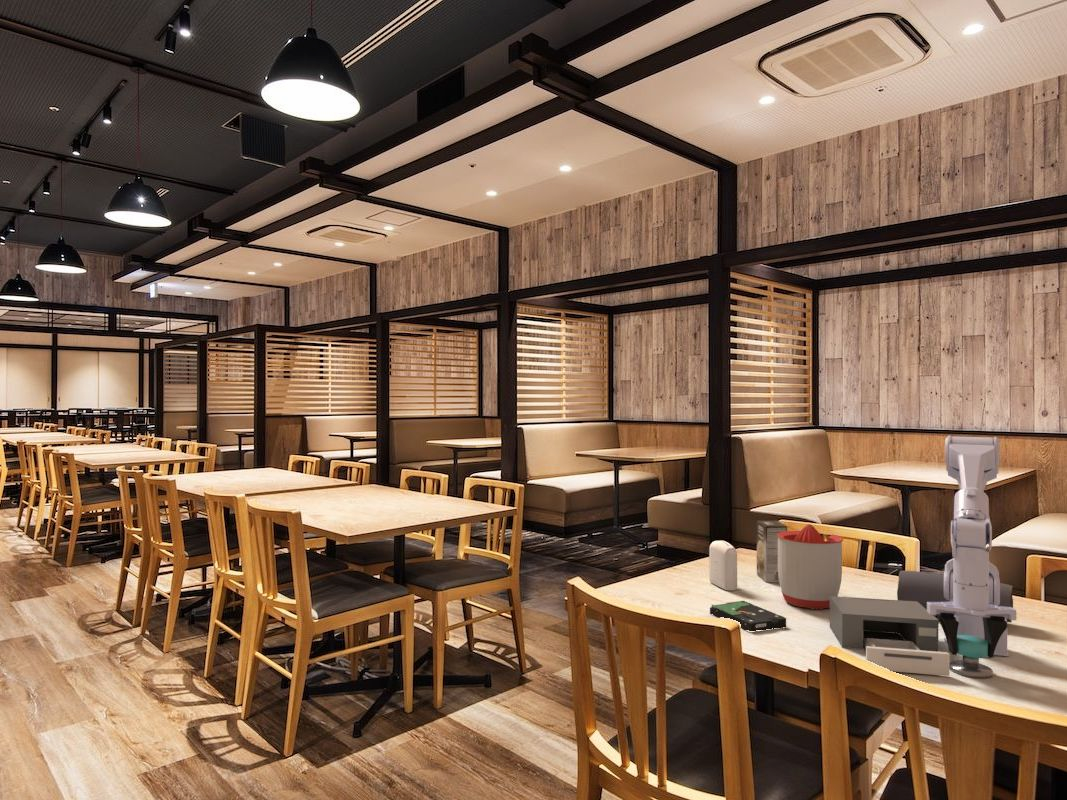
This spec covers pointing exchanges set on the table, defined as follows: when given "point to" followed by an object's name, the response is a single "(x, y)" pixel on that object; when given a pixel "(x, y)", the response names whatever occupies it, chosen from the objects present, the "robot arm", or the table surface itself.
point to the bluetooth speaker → (936, 589)
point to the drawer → (905, 657)
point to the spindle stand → (970, 668)
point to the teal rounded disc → (972, 646)
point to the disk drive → (749, 615)
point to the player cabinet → (882, 621)
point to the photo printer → (723, 565)
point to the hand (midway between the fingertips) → (970, 654)
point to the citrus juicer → (809, 567)
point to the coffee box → (768, 549)
